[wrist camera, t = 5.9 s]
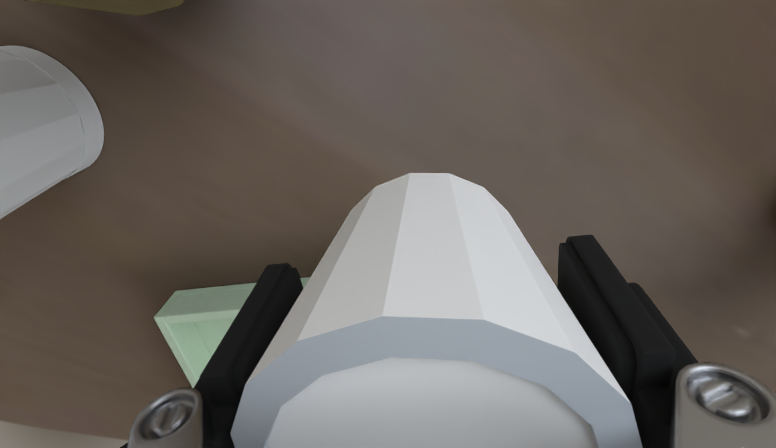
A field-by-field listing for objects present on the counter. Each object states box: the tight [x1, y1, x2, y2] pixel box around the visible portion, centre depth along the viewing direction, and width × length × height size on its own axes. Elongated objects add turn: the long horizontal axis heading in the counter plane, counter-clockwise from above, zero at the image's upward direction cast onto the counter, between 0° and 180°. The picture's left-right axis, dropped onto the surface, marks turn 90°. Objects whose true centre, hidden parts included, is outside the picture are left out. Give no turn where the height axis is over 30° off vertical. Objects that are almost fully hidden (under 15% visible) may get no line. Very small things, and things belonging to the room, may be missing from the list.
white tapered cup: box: [230, 173, 643, 448], centre depth 10 cm, size 7×7×7 cm
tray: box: [154, 277, 310, 388], centre depth 26 cm, size 21×13×2 cm, turn 99°
